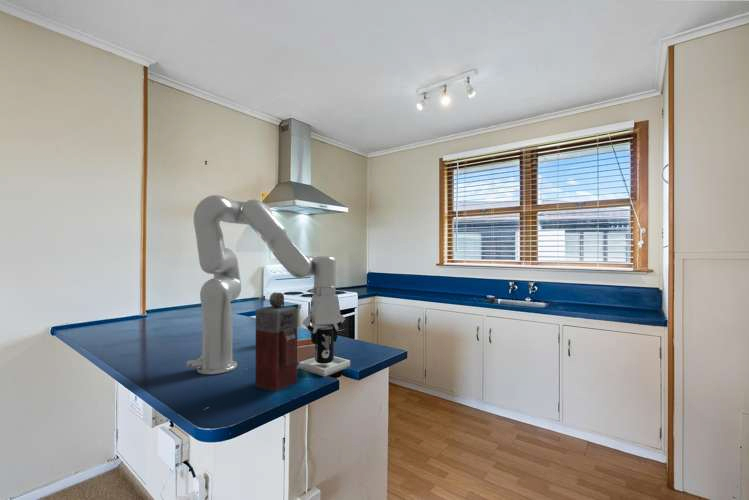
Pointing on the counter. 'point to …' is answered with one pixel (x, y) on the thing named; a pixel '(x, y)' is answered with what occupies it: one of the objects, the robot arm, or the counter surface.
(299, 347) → the holder
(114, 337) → the counter surface
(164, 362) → the counter surface
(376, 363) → the counter surface
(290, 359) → the red decanter
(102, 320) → the counter surface
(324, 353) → the beverage can
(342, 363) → the tray
